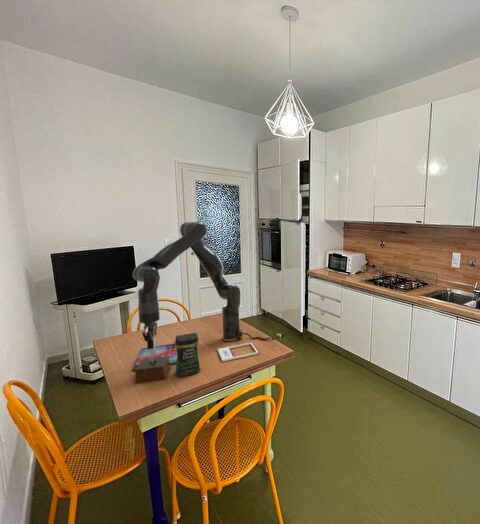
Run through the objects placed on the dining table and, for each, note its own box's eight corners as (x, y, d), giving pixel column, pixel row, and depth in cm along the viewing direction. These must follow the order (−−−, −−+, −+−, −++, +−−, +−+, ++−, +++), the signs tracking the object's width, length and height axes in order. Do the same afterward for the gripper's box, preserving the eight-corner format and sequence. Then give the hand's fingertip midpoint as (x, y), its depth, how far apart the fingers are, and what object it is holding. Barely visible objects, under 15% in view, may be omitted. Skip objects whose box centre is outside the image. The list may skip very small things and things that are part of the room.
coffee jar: (177, 379, 131) (175, 339, 128) (175, 371, 137) (173, 333, 135) (201, 372, 137) (199, 335, 134) (198, 365, 143) (196, 329, 141)
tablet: (133, 371, 136) (132, 369, 136) (141, 349, 158) (141, 348, 158) (180, 362, 145) (180, 361, 145) (182, 343, 167) (182, 342, 167)
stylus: (155, 365, 134) (156, 336, 133) (154, 366, 133) (155, 337, 131) (151, 365, 134) (151, 336, 132) (150, 367, 132) (150, 337, 131)
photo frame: (217, 348, 159) (251, 342, 169) (217, 350, 160) (251, 344, 169) (222, 359, 147) (258, 352, 157) (222, 361, 147) (258, 354, 157)
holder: (169, 367, 141) (168, 355, 140) (164, 378, 131) (163, 366, 130) (143, 370, 137) (142, 358, 136) (135, 382, 127) (134, 369, 126)
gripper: (154, 314, 124) (157, 353, 127) (162, 305, 137) (164, 340, 140) (133, 316, 122) (136, 355, 124) (143, 306, 135) (146, 342, 137)
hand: (151, 347), depth 132 cm, fingers closed on stylus, 1 cm apart
